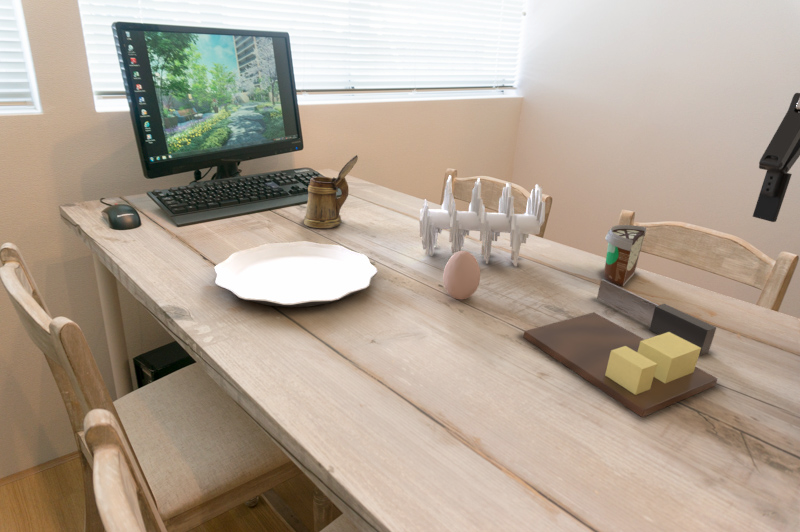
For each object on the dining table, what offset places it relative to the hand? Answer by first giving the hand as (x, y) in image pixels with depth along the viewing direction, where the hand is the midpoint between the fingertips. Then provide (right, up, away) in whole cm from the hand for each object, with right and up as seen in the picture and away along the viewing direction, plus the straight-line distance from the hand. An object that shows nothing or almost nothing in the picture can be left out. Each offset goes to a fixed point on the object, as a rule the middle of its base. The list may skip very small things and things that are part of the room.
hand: (789, 214), depth 76 cm
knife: (-14, -17, +15) cm, 27 cm away
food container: (-11, -10, +35) cm, 38 cm away
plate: (-75, -10, +24) cm, 80 cm away
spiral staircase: (-39, -6, +40) cm, 56 cm away
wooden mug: (-73, +3, +56) cm, 92 cm away
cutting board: (-24, -21, +4) cm, 32 cm away
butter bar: (-18, -22, 0) cm, 29 cm away
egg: (-45, -13, +21) cm, 51 cm away
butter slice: (-25, -23, -4) cm, 34 cm away
